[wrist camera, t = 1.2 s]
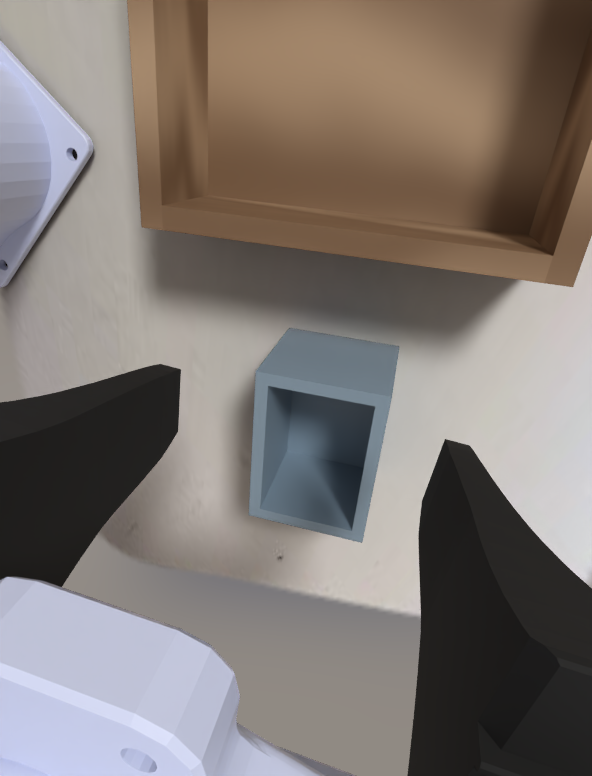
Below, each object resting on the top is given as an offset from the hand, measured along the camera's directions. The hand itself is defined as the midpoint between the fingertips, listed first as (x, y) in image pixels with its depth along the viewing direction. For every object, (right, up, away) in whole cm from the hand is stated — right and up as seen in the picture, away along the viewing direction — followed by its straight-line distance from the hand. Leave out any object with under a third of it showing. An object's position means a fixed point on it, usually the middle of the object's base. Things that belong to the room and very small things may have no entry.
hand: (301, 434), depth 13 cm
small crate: (+2, +1, +11) cm, 11 cm away
